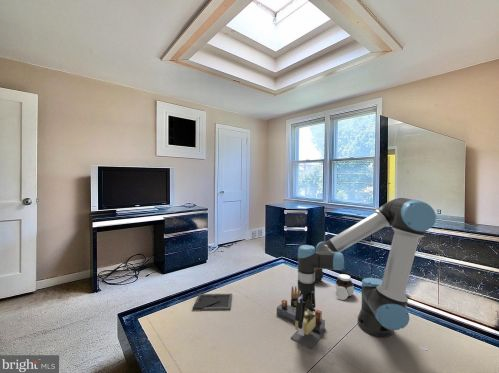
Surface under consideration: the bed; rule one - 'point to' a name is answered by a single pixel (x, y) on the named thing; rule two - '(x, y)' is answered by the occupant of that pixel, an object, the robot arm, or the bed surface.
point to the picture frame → (213, 302)
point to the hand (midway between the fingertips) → (305, 329)
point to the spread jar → (344, 287)
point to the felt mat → (306, 339)
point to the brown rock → (318, 275)
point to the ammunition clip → (295, 295)
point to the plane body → (290, 313)
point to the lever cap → (307, 322)
